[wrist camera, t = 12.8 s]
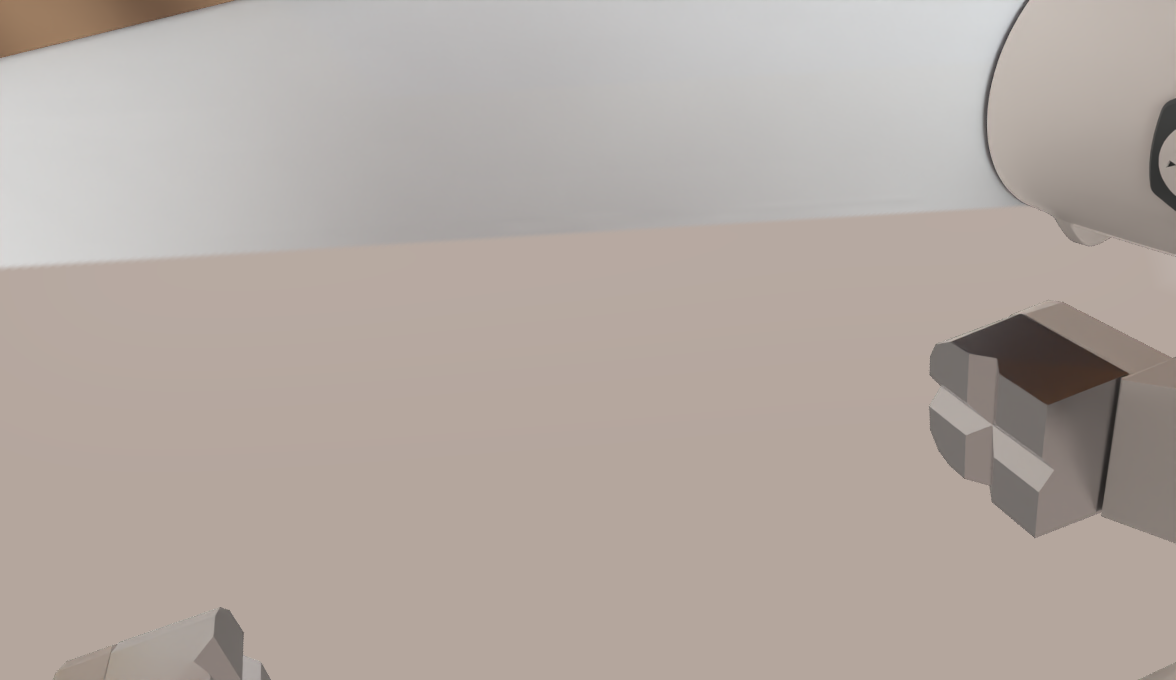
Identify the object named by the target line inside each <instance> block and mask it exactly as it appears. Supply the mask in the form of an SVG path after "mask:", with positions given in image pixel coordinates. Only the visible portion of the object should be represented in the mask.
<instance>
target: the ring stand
mask: <svg viewBox="0 0 1176 680" xmlns="http://www.w3.org/2000/svg"><path fill="white" fill-rule="evenodd" d="M230 1H234V0H0V58H2V57H6V56H10V55H14V54H18V53H22V52H26V51H31V50H35V49H39V48H43V47H47V46H51V45H55V44H59V43H63V42H67V41H71V40H75V39H79V38H83V37H87V36H92V35H96V34H100V33H104V32H108V31H112V30H116V29H120V28H124V27H128V26H132V25H136V24H140V23H144V22H149V21H153V20H157V19H161V18H165V17H169V16H173V15H177V14H181V13H185V12H189V11H193V10H197V9H201V8H206V7H210V6H214V5H218V4H222V3H226V2H230Z"/></svg>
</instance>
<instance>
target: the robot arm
mask: <svg viewBox="0 0 1176 680" xmlns="http://www.w3.org/2000/svg"><path fill="white" fill-rule="evenodd" d="M987 135H988V144H989V149H990V154H991V158H992V161H993V164H994V167H995V169H996V171H997V173H998V175H999V177H1000V179H1001V181H1002V182H1003V184H1004V185H1005V186H1006V188H1007V189H1008V190H1009V191H1010V192H1011V193H1012V194H1013V195H1014V196H1015V197H1016V198H1018V199H1019V200H1020V201H1022V202H1023V203H1025V204H1027V205H1029V206H1031V207H1034V208H1037V209H1039V210H1042V211H1044V212H1046V213H1048V214H1050V215H1051V216H1053V217H1054V218H1055V220H1056V221H1057V223H1058V225H1059V226H1060V228H1061V229H1062V231H1063V232H1064V234H1065V235H1066V236H1067V237H1068V238H1069V239H1070V240H1072V241H1073V242H1076V243H1079V244H1083V245H1086V246H1095V245H1098V244H1100V243H1102V242H1103V241H1106V240H1107V239H1109V238H1111V237H1113V238H1116V239H1119V240H1123V241H1125V242H1129V243H1132V244H1135V245H1138V246H1142V247H1145V248H1149V249H1152V250H1155V251H1158V252H1162V253H1165V254H1169V255H1172V256H1175V257H1176V0H1029V2H1028V3H1027V5H1026V6H1025V8H1024V9H1023V11H1022V12H1021V14H1020V16H1019V17H1018V19H1017V21H1016V23H1015V24H1014V26H1013V28H1012V30H1011V32H1010V34H1009V36H1008V38H1007V40H1006V42H1005V45H1004V47H1003V50H1002V52H1001V55H1000V57H999V60H998V63H997V66H996V70H995V73H994V77H993V81H992V85H991V90H990V95H989V102H988V112H987ZM930 376H931V377H932V378H933V379H934V380H935V381H936V382H937V383H938V384H939V385H940V386H941V387H940V389H939V390H938V392H937V394H936V396H935V398H934V399H933V401H932V403H931V405H930V406H929V410H930V430H931V433H932V435H933V438H934V440H935V443H936V445H937V448H938V450H939V452H940V453H941V455H942V456H943V457H944V459H945V460H946V461H947V463H948V464H949V465H950V466H951V467H952V468H953V469H954V470H955V471H956V472H957V473H959V474H960V475H961V476H962V477H963V478H964V479H967V480H971V481H975V482H979V483H982V484H986V485H989V486H990V493H991V500H992V503H994V504H995V505H996V506H997V507H998V508H1000V509H1001V510H1002V511H1003V512H1004V513H1006V514H1007V515H1008V516H1009V517H1011V519H1013V520H1014V521H1015V522H1016V523H1017V524H1019V525H1020V526H1021V527H1022V528H1023V529H1025V530H1026V531H1027V532H1028V533H1029V534H1031V535H1032V536H1033V537H1034V538H1036V537H1039V536H1041V535H1044V534H1047V533H1049V532H1052V531H1054V530H1057V529H1059V528H1062V527H1064V526H1067V525H1069V524H1072V523H1075V522H1077V521H1080V520H1082V519H1085V518H1088V517H1090V516H1093V515H1095V514H1098V513H1100V512H1102V514H1101V516H1102V517H1105V518H1108V519H1111V520H1113V521H1116V522H1119V523H1121V524H1124V525H1127V526H1130V527H1132V528H1135V529H1138V530H1140V531H1143V532H1146V533H1149V534H1151V535H1154V536H1157V537H1160V538H1163V539H1165V540H1168V541H1171V542H1173V543H1176V357H1175V358H1171V357H1169V356H1167V355H1165V354H1163V353H1161V352H1159V351H1157V350H1155V349H1153V348H1151V347H1149V346H1148V345H1146V344H1144V343H1142V342H1140V341H1138V340H1136V339H1134V338H1132V337H1130V336H1128V335H1126V334H1124V333H1122V332H1120V331H1118V330H1116V329H1114V328H1112V327H1110V326H1109V325H1106V324H1105V323H1103V322H1101V321H1099V320H1097V319H1095V318H1093V317H1091V316H1089V315H1087V314H1085V313H1083V312H1081V311H1079V310H1077V309H1075V308H1073V307H1072V306H1070V305H1068V304H1066V303H1064V302H1059V301H1050V300H1047V301H1045V302H1042V303H1040V304H1037V305H1034V306H1032V307H1029V308H1027V309H1024V310H1022V311H1019V312H1017V313H1014V314H1012V315H1010V316H1009V317H1008V318H1005V319H1002V320H999V321H996V322H994V323H991V324H988V325H986V326H983V327H980V328H978V329H975V330H972V331H970V332H967V333H964V334H962V335H959V336H956V337H954V338H951V339H948V340H946V341H943V342H940V343H938V344H936V345H935V347H934V349H933V351H932V354H931V356H930ZM243 637H244V632H243V631H242V629H241V627H240V626H239V624H238V623H237V621H236V620H235V618H234V617H233V615H232V613H231V612H230V610H227V609H224V608H221V607H220V608H217V609H214V610H211V611H208V612H206V613H203V614H200V615H197V616H194V617H191V618H188V619H185V620H182V621H179V622H176V623H173V624H170V625H168V626H165V627H162V628H159V629H156V630H153V631H150V632H147V633H144V634H142V635H139V636H136V637H133V638H130V639H127V640H124V641H121V642H119V643H118V644H116V645H112V646H109V647H106V648H104V649H100V650H97V651H95V652H92V653H89V654H86V655H83V656H80V657H78V658H75V659H72V660H69V661H66V662H65V663H64V664H63V665H62V666H61V668H60V669H59V670H58V671H57V672H56V673H55V676H54V678H53V680H271V679H270V677H269V675H268V674H267V672H266V670H265V668H264V667H263V665H262V663H261V662H260V661H257V660H254V659H252V658H249V657H246V656H244V655H243V639H244V638H243ZM1139 680H1176V662H1175V663H1173V664H1171V665H1169V666H1167V667H1165V668H1163V669H1160V670H1158V671H1156V672H1154V673H1152V674H1150V675H1148V676H1145V677H1143V678H1141V679H1139Z"/></svg>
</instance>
